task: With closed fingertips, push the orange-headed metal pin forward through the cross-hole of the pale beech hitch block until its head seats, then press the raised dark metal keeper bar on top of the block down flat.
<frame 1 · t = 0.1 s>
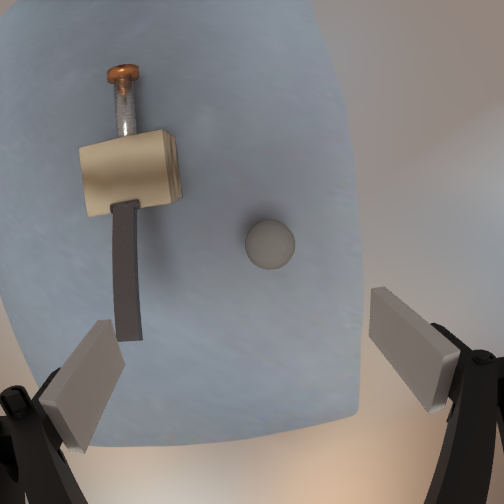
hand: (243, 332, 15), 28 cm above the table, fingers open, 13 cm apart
pin: (125, 119, 33), point 5 cm above the table, slide at -8.0 cm
keeper: (125, 267, 30), point 12 cm above the table, hinge at 30.0°
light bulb: (263, 232, 43), on the table
hitch block: (141, 173, 39), on the table
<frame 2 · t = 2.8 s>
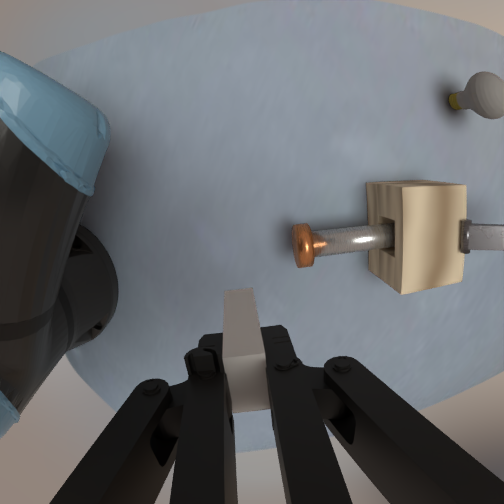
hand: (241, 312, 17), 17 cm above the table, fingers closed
pin: (362, 238, 29), point 5 cm above the table, slide at -8.0 cm
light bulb: (451, 102, 31), on the table
hitch block: (398, 224, 34), on the table
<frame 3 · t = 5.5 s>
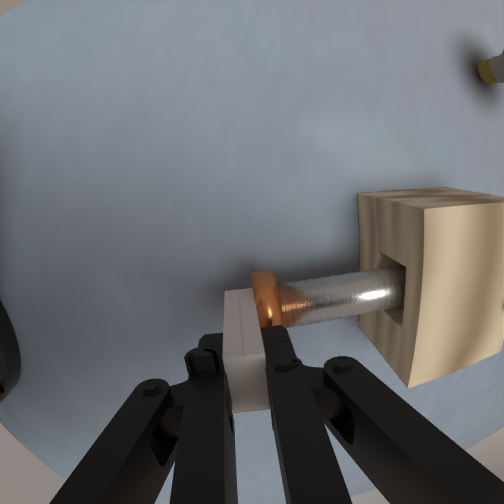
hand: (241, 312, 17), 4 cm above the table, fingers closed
pin: (371, 290, 17), point 5 cm above the table, slide at -6.5 cm, touching gripper
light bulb: (480, 74, 19), on the table
hitch block: (407, 257, 22), on the table
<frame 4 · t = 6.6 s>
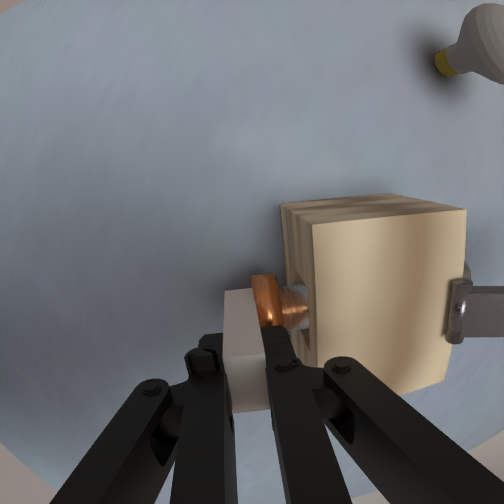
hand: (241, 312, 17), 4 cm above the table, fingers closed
pin: (372, 294, 17), point 5 cm above the table, slide at -1.2 cm, touching gripper
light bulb: (439, 66, 18), on the table
hitch block: (343, 270, 21), on the table
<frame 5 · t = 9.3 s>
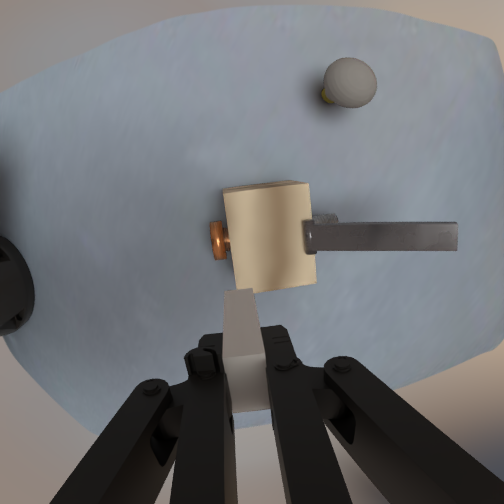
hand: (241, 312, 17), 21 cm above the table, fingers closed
pin: (275, 232, 34), point 5 cm above the table, slide at -0.5 cm
keeper: (380, 236, 27), point 12 cm above the table, hinge at 30.0°
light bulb: (327, 96, 35), on the table
hitch block: (261, 226, 38), on the table
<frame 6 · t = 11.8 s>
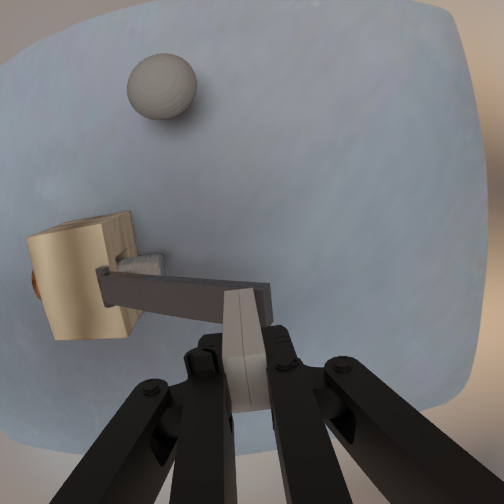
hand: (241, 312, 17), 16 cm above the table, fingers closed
pin: (96, 274, 27), point 5 cm above the table, slide at -0.5 cm
keeper: (167, 295, 21), point 12 cm above the table, hinge at 29.2°, touching gripper
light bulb: (176, 105, 29), on the table
hitch block: (104, 262, 32), on the table
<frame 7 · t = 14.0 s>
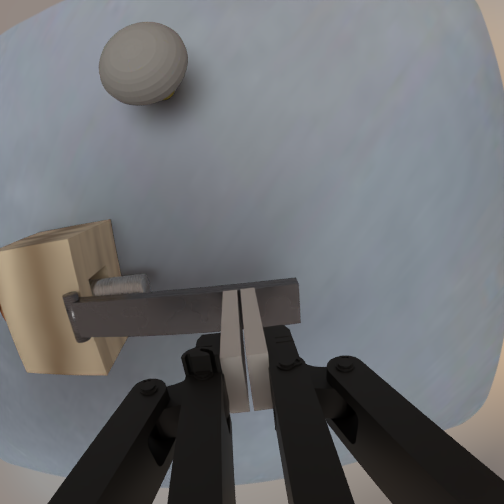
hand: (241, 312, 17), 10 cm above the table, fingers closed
pin: (69, 297, 22), point 5 cm above the table, slide at -0.5 cm
keeper: (172, 312, 18), point 9 cm above the table, hinge at 3.2°, touching gripper
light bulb: (165, 91, 23), on the table
hitch block: (83, 279, 26), on the table
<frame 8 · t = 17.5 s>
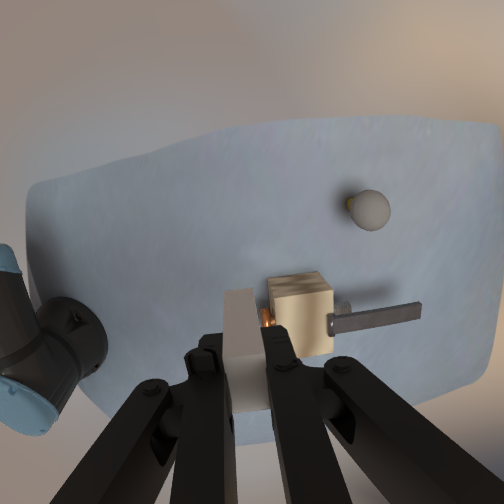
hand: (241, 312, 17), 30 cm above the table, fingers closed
pin: (306, 315, 46), point 5 cm above the table, slide at -0.5 cm
keeper: (376, 318, 42), point 9 cm above the table, hinge at 3.2°
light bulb: (350, 204, 47), on the table
hitch block: (294, 304, 50), on the table
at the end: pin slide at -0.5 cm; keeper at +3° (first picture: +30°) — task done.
